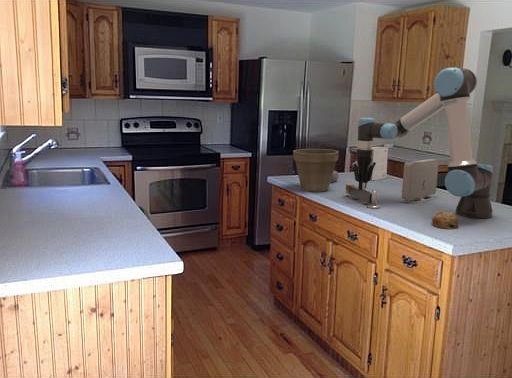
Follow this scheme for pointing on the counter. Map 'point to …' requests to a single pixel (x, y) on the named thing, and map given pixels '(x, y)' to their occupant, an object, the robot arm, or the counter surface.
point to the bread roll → (445, 220)
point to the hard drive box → (379, 163)
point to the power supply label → (362, 202)
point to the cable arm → (359, 193)
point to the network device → (419, 180)
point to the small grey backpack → (334, 176)
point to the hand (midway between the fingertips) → (361, 194)
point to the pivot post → (374, 201)
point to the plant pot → (315, 168)
